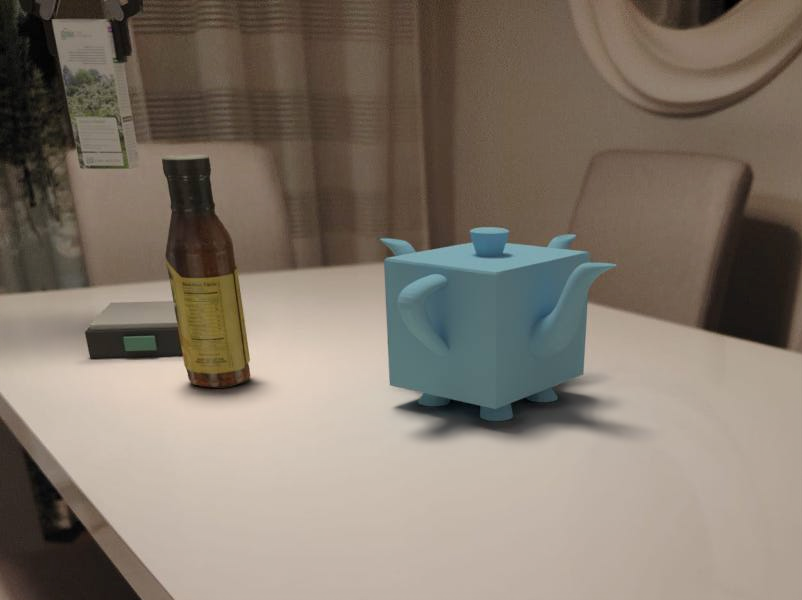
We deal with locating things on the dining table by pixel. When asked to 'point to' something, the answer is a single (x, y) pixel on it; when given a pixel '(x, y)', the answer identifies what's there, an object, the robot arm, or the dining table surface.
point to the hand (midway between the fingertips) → (92, 61)
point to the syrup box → (96, 94)
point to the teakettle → (487, 319)
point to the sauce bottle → (204, 278)
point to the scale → (135, 331)
